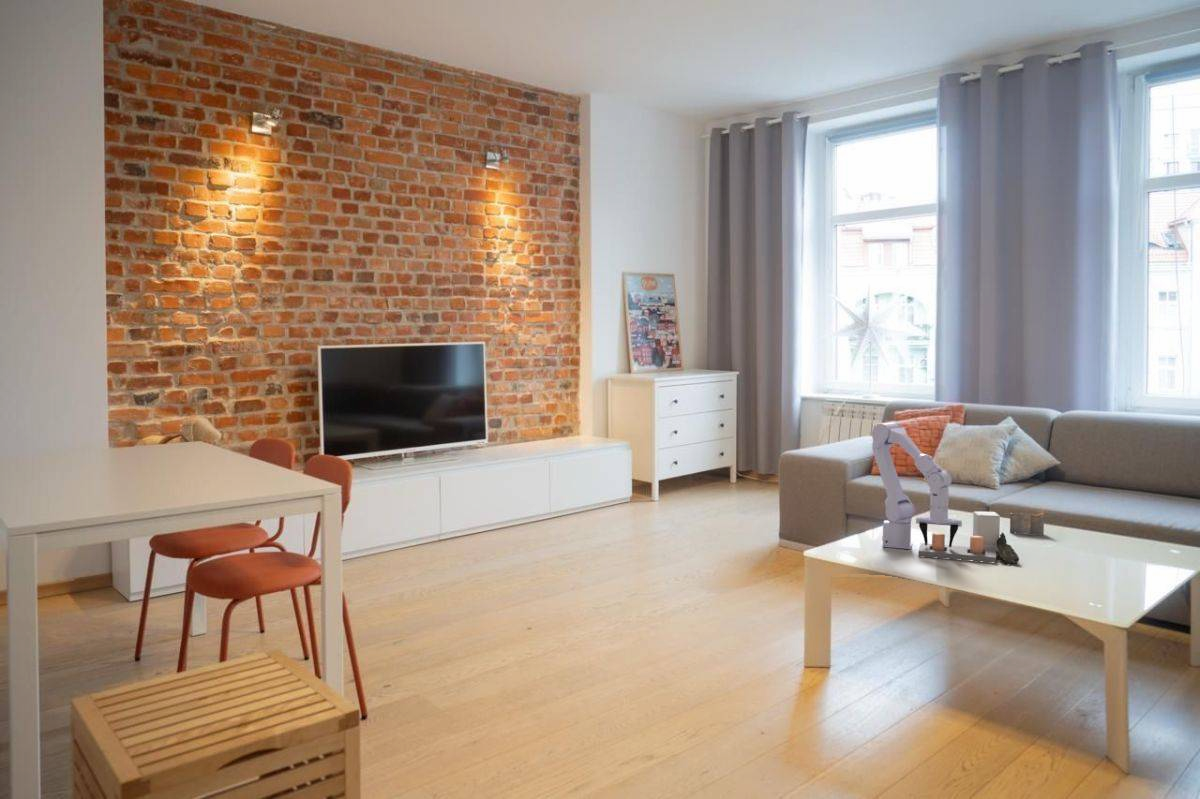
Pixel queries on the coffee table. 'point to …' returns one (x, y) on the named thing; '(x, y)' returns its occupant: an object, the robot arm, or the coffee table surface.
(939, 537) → the pin
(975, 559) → the pegboard
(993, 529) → the supplement box
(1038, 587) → the coffee table surface
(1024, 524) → the ruin model on sheet
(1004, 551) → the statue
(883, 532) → the robot arm
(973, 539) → the pin
